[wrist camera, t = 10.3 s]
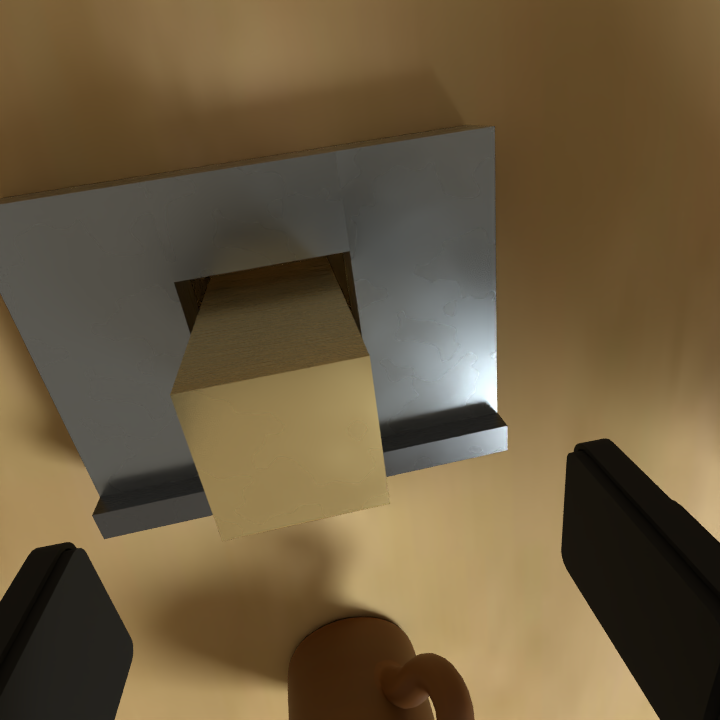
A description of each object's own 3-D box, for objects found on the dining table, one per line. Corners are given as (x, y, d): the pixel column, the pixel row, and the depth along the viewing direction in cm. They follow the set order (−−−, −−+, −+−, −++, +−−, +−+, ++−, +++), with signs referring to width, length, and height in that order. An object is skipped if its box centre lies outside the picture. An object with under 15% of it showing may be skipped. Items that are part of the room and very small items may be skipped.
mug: (355, 542, 26) (397, 745, 17) (472, 571, 28) (558, 761, 20) (266, 686, 30) (266, 908, 21) (376, 700, 32) (414, 904, 24)
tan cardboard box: (326, 256, 19) (369, 355, 11) (342, 357, 21) (389, 503, 13) (211, 276, 19) (170, 394, 11) (239, 377, 21) (222, 541, 13)
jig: (466, 125, 18) (508, 126, 15) (475, 405, 23) (507, 450, 20) (1, 198, 16) (-61, 216, 13) (127, 478, 22) (104, 539, 19)
